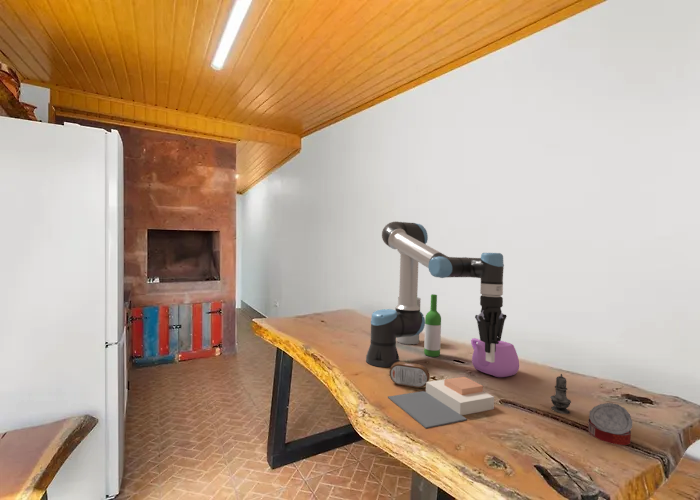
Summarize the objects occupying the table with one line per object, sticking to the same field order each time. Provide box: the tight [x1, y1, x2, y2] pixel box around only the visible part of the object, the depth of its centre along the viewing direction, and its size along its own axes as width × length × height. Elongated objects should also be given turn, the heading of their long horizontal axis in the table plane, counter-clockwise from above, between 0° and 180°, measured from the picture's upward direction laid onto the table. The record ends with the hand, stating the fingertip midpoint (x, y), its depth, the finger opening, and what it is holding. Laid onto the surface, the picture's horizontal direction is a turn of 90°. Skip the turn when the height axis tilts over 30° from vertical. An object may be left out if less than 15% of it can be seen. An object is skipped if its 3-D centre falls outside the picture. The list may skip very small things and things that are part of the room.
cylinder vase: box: [396, 296, 422, 345], centre depth 196 cm, size 12×12×25 cm
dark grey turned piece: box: [550, 373, 572, 415], centre depth 115 cm, size 6×6×12 cm
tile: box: [443, 376, 484, 395], centre depth 120 cm, size 9×9×2 cm
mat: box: [387, 390, 468, 429], centre depth 112 cm, size 22×15×1 cm
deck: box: [425, 379, 495, 416], centre depth 119 cm, size 18×14×4 cm
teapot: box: [470, 337, 520, 378], centre depth 150 cm, size 23×21×15 cm
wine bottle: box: [423, 293, 442, 358], centre depth 172 cm, size 8×8×30 cm
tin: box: [389, 361, 431, 389], centre depth 131 cm, size 15×3×8 cm, turn 71°
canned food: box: [587, 402, 633, 446], centre depth 99 cm, size 11×10×10 cm
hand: (490, 361), depth 124 cm, fingers closed
